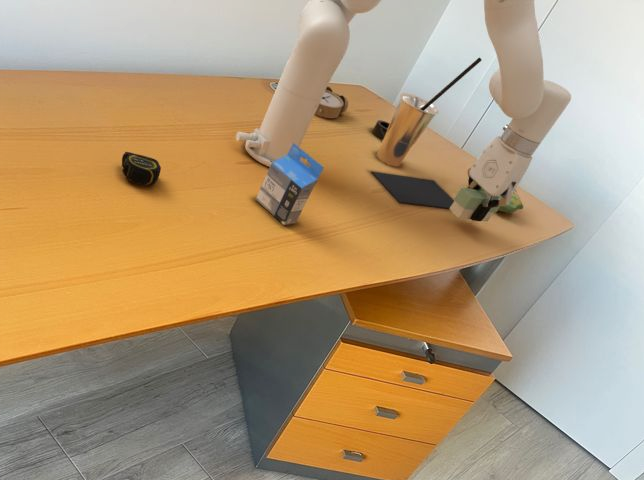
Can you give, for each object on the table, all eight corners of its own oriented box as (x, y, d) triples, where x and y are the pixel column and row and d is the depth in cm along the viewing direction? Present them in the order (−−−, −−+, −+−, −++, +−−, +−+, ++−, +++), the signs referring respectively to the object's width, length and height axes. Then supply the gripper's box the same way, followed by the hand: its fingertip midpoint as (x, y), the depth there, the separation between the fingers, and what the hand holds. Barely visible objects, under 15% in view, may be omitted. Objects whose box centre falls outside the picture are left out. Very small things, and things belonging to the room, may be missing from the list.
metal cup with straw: (412, 178, 172) (482, 59, 153) (370, 161, 172) (435, 40, 153) (409, 161, 181) (476, 46, 162) (369, 145, 180) (431, 28, 161)
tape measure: (155, 174, 131) (160, 156, 129) (156, 193, 126) (163, 174, 124) (119, 165, 129) (125, 147, 127) (120, 184, 124) (125, 165, 122)
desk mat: (399, 202, 158) (399, 201, 158) (370, 172, 167) (371, 171, 166) (462, 210, 167) (463, 209, 167) (432, 181, 175) (433, 180, 175)
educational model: (477, 210, 170) (490, 191, 167) (460, 180, 182) (472, 161, 179) (522, 225, 172) (536, 207, 169) (502, 194, 184) (515, 176, 181)
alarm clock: (295, 89, 185) (328, 77, 193) (289, 106, 189) (322, 94, 197) (327, 110, 181) (360, 97, 189) (321, 127, 184) (353, 113, 193)
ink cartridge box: (253, 199, 136) (279, 142, 129) (267, 198, 139) (292, 141, 131) (283, 226, 132) (311, 168, 124) (296, 223, 134) (325, 167, 127)
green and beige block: (457, 218, 155) (471, 197, 152) (447, 208, 158) (461, 187, 155) (489, 222, 160) (503, 202, 156) (478, 212, 162) (492, 192, 159)
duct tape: (362, 131, 186) (368, 121, 185) (376, 126, 194) (381, 116, 192) (387, 145, 184) (392, 135, 182) (400, 139, 191) (405, 129, 190)
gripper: (483, 119, 151) (436, 192, 162) (532, 160, 140) (479, 234, 152) (507, 124, 154) (460, 195, 166) (557, 164, 144) (503, 237, 155)
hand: (469, 213), depth 159 cm, fingers closed on green and beige block, 4 cm apart
